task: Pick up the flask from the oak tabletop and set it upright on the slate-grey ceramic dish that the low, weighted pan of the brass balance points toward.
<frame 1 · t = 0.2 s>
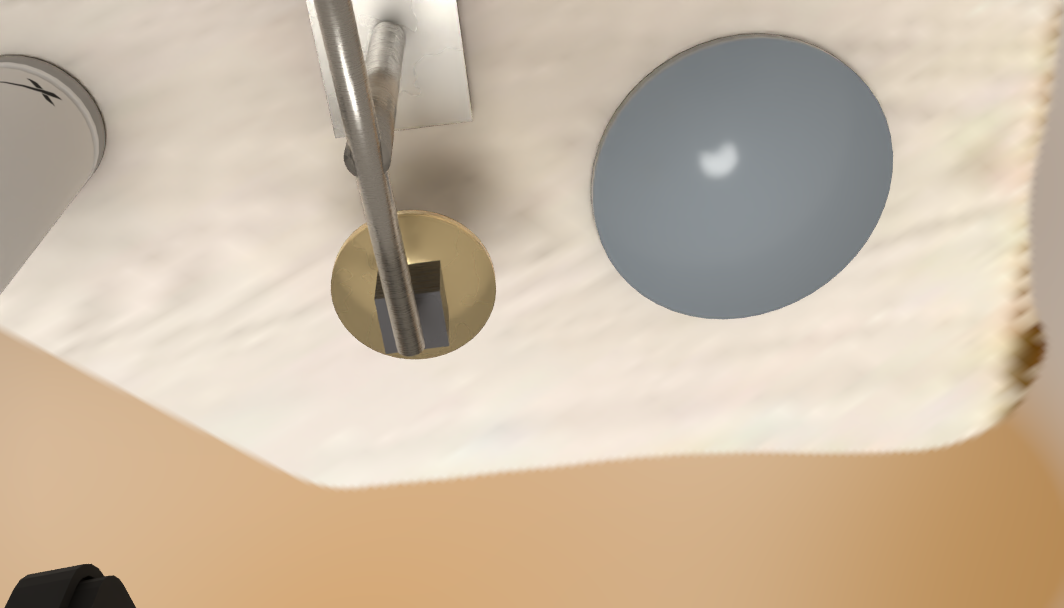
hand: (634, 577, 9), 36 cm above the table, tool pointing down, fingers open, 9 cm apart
slate dish: (738, 181, 47), on the table
tipped balance: (389, 30, 42), on the table
travel mug: (31, 119, 43), on the table
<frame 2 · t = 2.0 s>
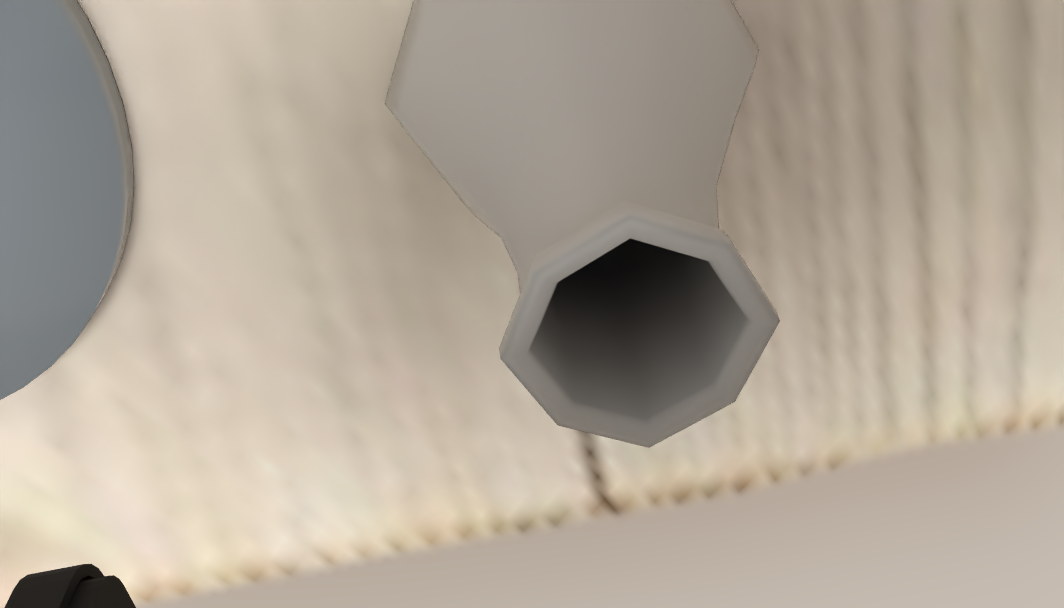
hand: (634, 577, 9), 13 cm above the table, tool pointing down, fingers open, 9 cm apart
flask: (569, 69, 21), on the table
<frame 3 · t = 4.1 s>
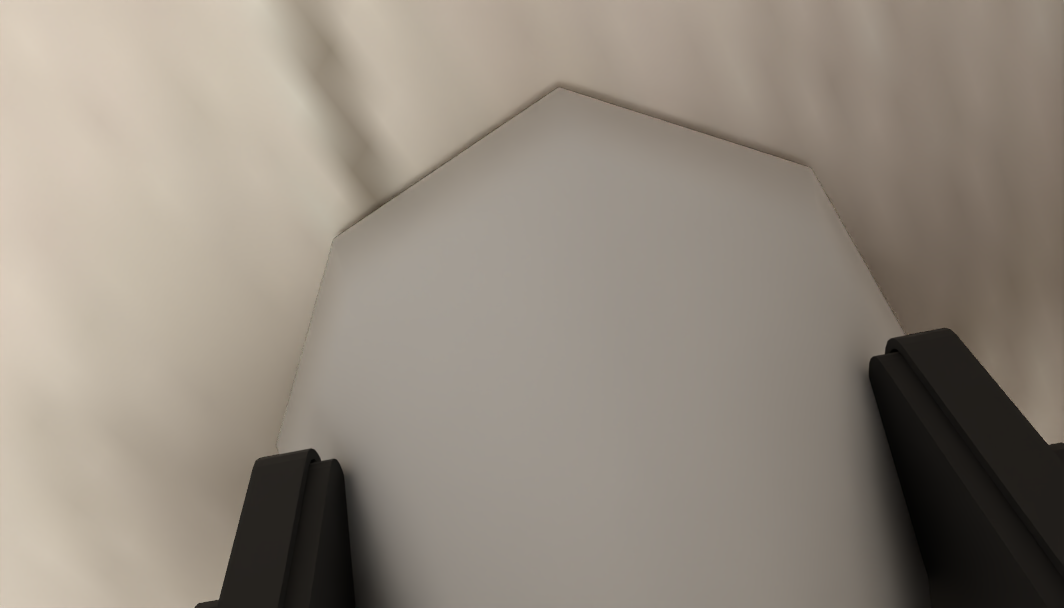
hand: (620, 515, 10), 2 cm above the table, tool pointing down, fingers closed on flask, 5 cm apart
flask: (590, 374, 12), on the table, touching gripper
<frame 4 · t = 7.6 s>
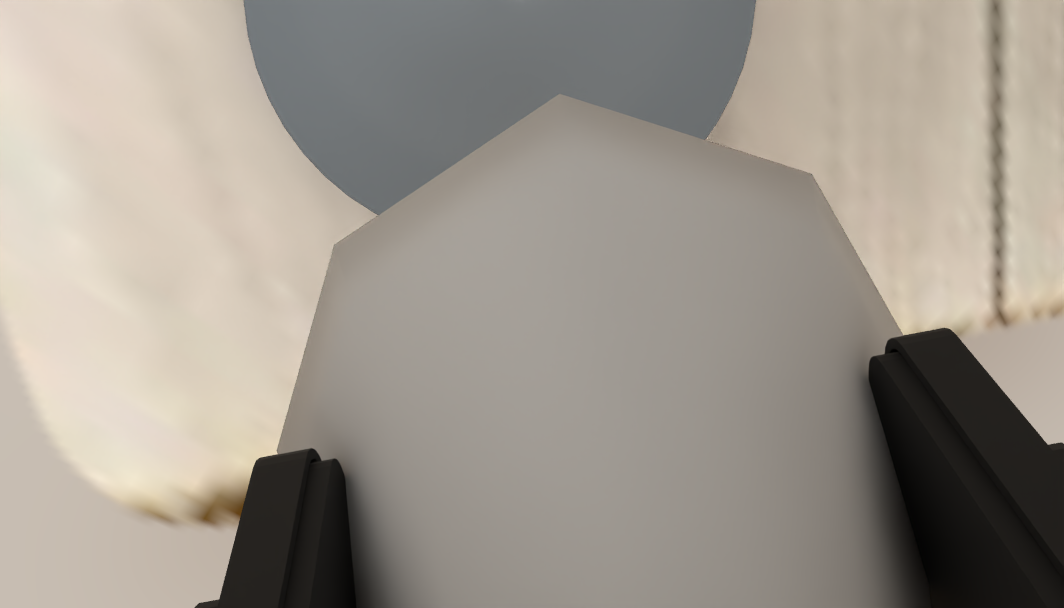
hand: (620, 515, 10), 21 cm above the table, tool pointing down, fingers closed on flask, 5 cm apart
flask: (590, 380, 12), point 19 cm above the table, touching gripper
slate dish: (502, 9, 28), on the table
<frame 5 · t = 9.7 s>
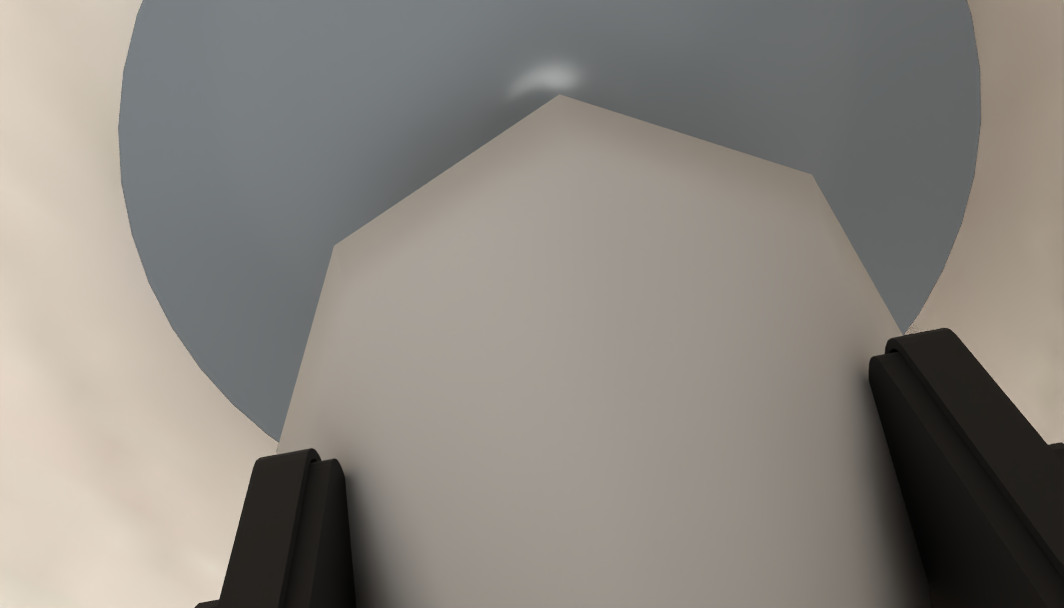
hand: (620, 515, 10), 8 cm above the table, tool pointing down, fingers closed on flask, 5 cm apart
flask: (590, 380, 12), point 6 cm above the table, touching gripper
slate dish: (554, 180, 17), on the table
when the fingers open (5 cm above the table, at t = 11.3 s): flask drops 1 cm, resting on slate dish.
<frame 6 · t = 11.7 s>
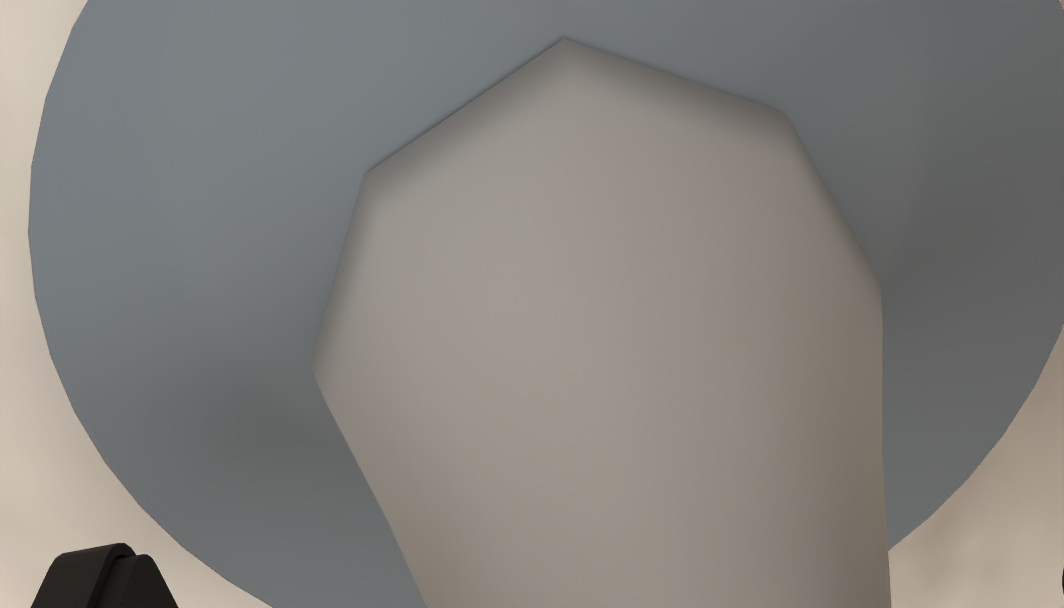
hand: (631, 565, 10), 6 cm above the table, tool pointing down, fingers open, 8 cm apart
flask: (590, 305, 14), point 1 cm above the table, touching slate dish
slate dish: (568, 280, 14), on the table
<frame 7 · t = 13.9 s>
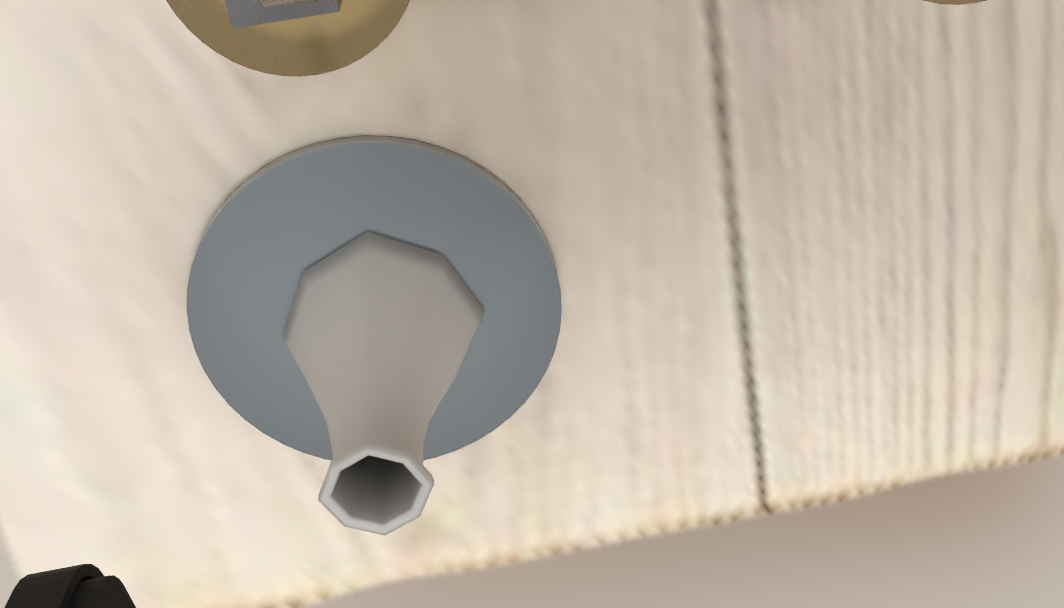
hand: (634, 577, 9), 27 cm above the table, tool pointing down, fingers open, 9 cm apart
flask: (384, 316, 38), point 1 cm above the table, touching slate dish
slate dish: (379, 307, 39), on the table
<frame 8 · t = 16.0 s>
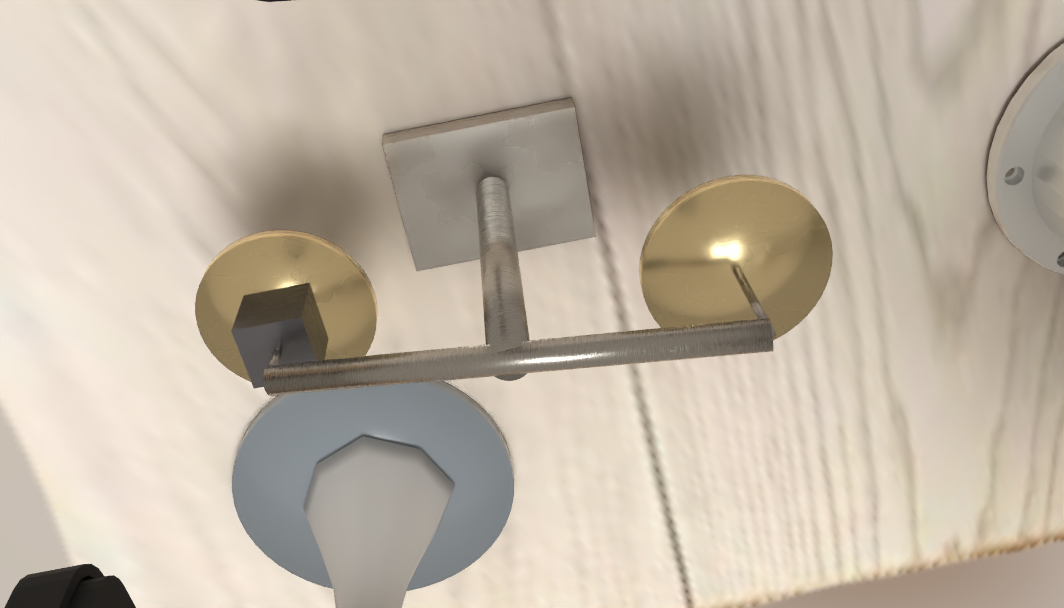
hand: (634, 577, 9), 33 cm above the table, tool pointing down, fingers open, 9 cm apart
flask: (379, 490, 50), point 1 cm above the table, touching slate dish
slate dish: (376, 480, 51), on the table
tipped balance: (491, 181, 43), on the table
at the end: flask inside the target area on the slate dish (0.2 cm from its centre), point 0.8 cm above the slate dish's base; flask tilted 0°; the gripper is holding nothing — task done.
